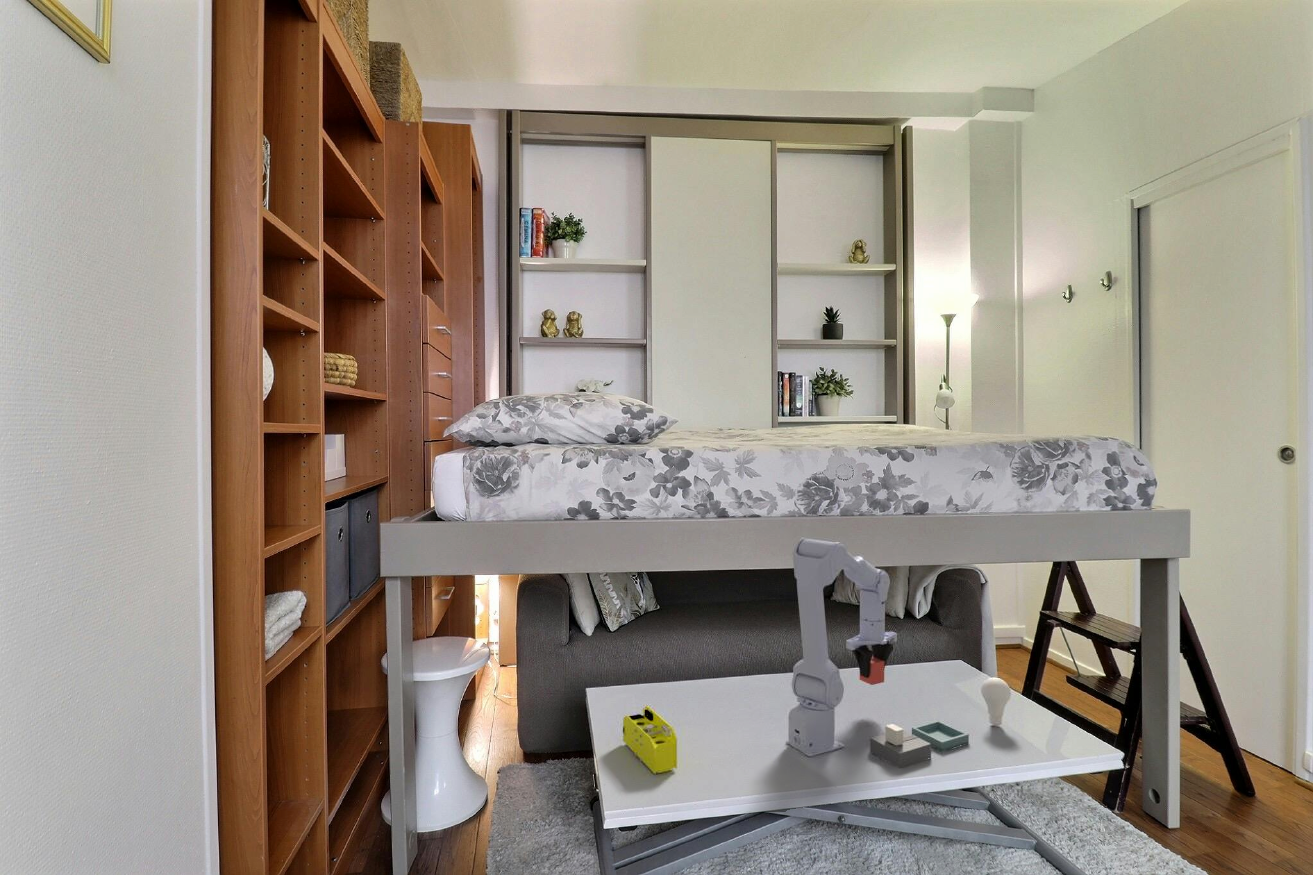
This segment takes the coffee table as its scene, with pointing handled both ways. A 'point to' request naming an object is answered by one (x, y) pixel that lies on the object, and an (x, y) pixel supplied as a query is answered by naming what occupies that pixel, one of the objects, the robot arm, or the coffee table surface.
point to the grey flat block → (901, 750)
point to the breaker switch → (894, 734)
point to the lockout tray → (941, 735)
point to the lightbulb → (995, 698)
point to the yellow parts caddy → (651, 740)
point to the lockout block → (875, 672)
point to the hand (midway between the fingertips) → (871, 674)
